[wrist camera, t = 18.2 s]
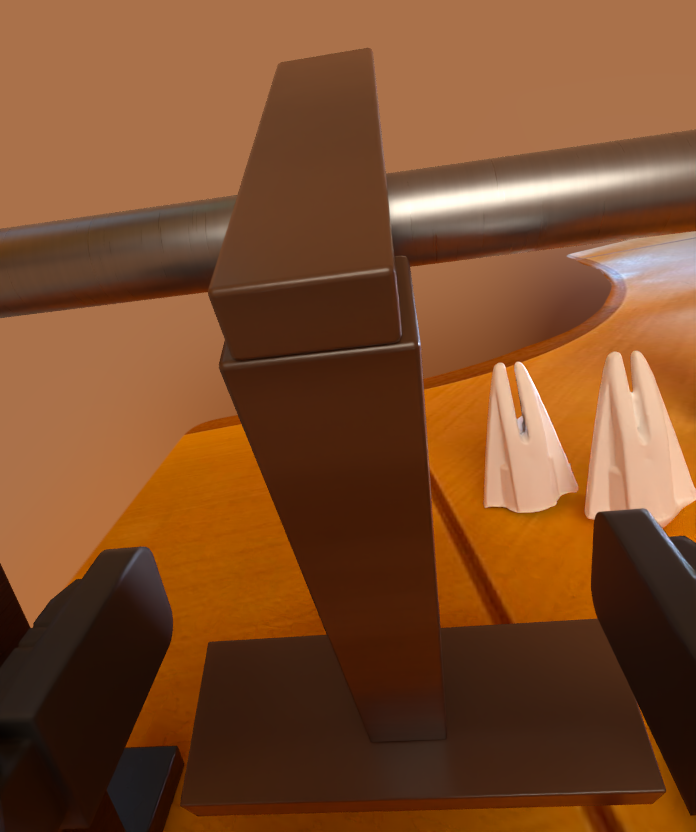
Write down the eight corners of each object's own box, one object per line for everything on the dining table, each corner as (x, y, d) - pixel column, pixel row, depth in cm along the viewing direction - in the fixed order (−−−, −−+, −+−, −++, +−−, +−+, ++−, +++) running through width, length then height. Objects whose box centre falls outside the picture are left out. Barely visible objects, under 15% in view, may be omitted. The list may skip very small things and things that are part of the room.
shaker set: (694, 520, 34) (718, 344, 30) (682, 559, 31) (706, 371, 27) (504, 478, 41) (500, 331, 37) (479, 507, 39) (472, 351, 34)
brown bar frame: (653, 804, 17) (1249, 273, 4) (196, 816, 18) (-423, 455, 6) (564, 518, 24) (680, -7, 11) (239, 544, 25) (9, 106, 12)
